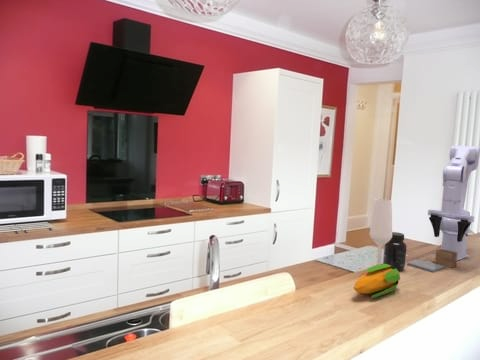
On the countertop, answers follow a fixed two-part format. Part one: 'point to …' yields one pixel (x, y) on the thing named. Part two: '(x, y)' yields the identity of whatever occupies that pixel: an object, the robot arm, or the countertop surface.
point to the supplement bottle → (395, 252)
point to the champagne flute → (381, 224)
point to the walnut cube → (446, 258)
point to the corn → (378, 280)
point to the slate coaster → (426, 265)
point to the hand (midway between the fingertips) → (447, 238)
